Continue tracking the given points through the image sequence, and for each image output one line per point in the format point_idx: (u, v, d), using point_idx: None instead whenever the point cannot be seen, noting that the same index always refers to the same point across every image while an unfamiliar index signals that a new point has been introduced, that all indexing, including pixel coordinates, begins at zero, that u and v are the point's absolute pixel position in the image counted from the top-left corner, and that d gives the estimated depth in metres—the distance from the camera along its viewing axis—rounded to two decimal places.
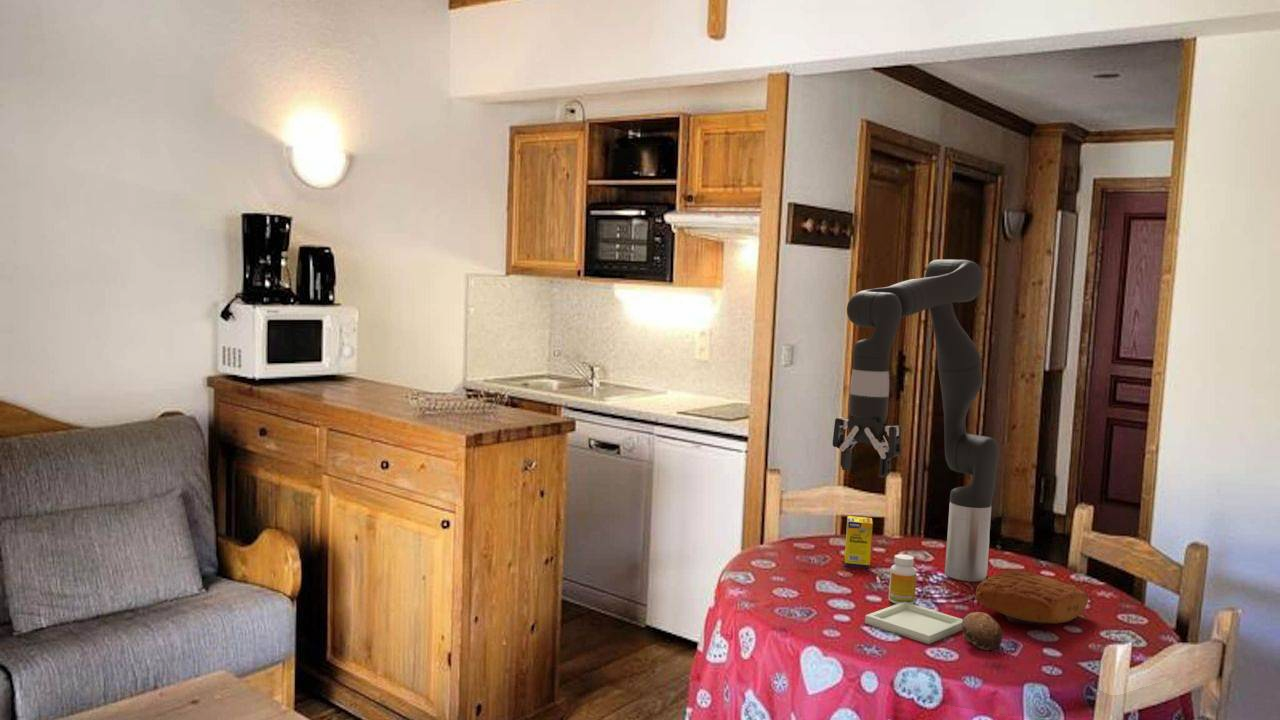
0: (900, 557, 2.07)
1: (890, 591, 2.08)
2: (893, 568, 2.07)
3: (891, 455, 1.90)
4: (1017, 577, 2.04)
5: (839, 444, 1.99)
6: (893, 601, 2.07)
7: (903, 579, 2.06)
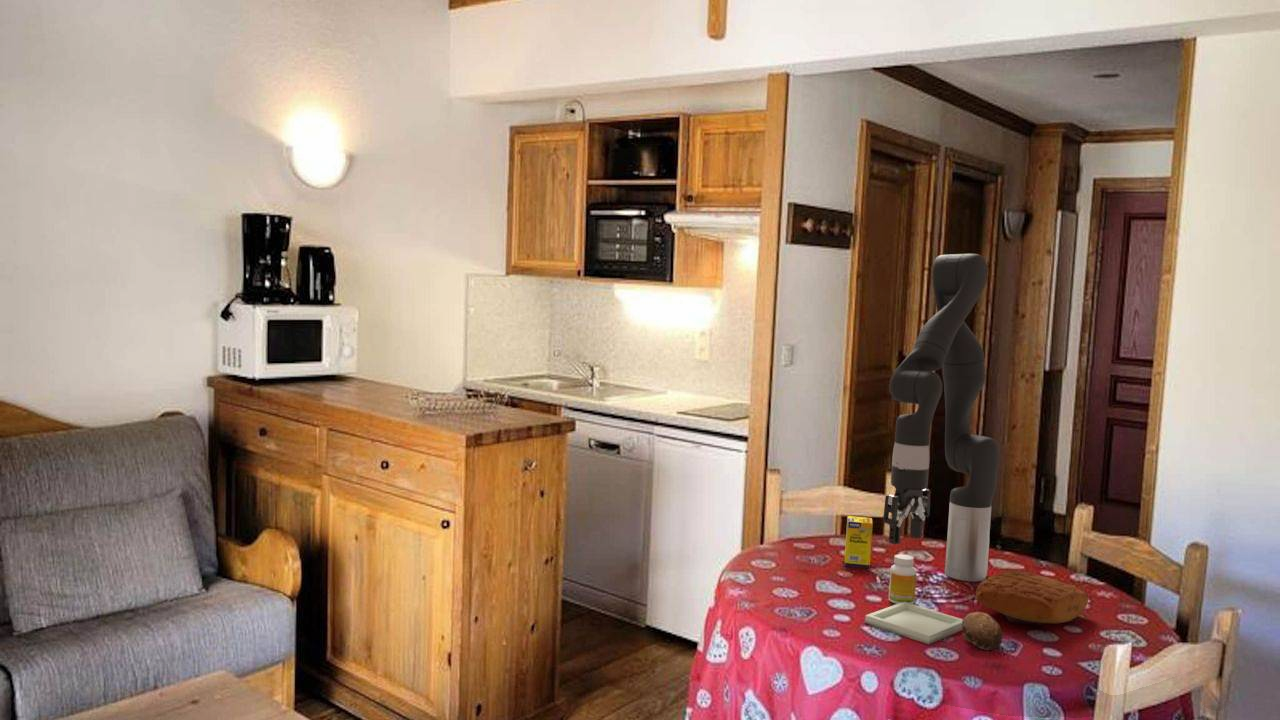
0: (900, 557, 2.07)
1: (890, 591, 2.08)
2: (893, 568, 2.07)
3: (928, 515, 2.11)
4: (1017, 577, 2.04)
5: None
6: (893, 601, 2.07)
7: (903, 579, 2.06)
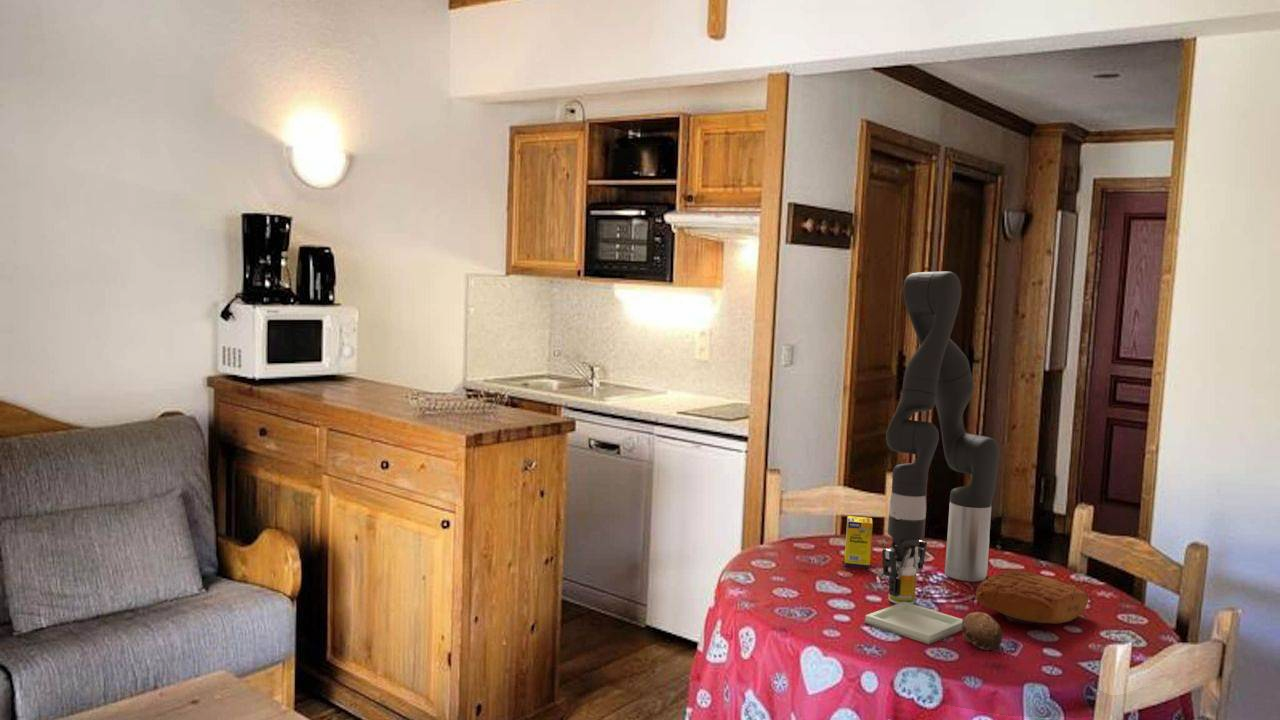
0: None
1: None
2: None
3: (921, 567, 2.11)
4: (1017, 577, 2.03)
5: None
6: (893, 601, 2.07)
7: (903, 579, 2.06)
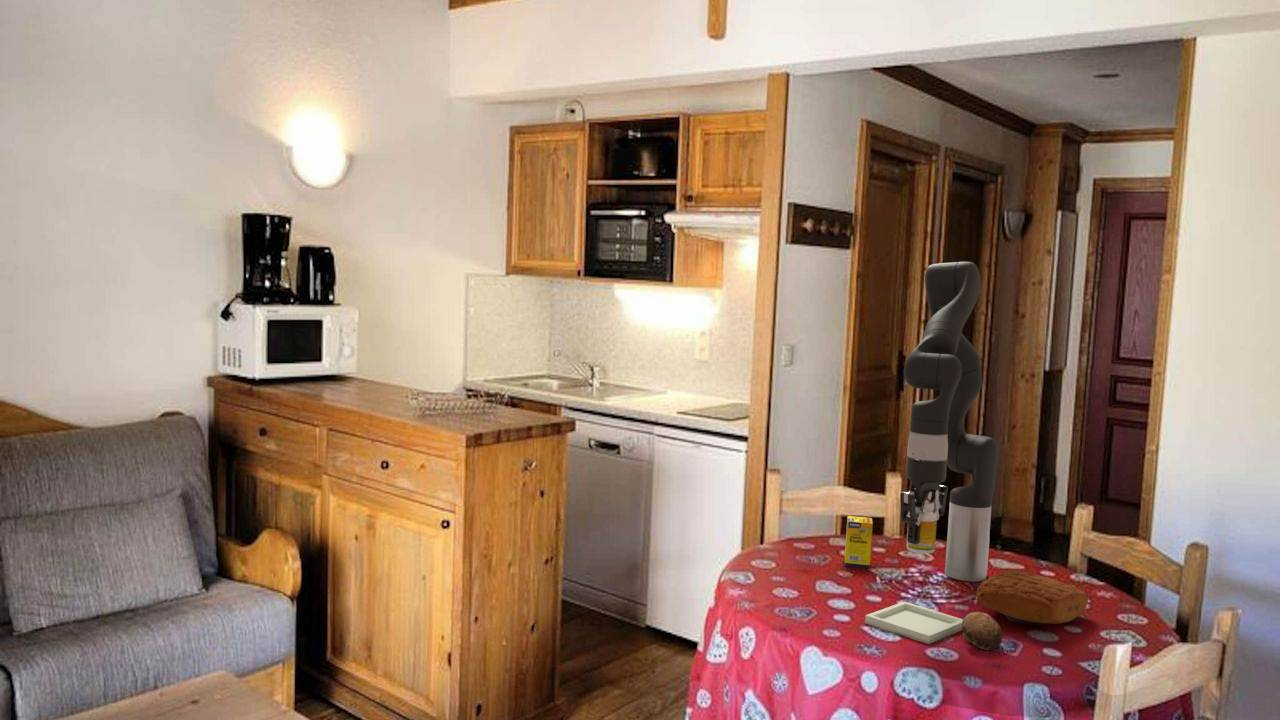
0: None
1: None
2: None
3: (942, 514, 1.95)
4: (1017, 577, 2.03)
5: None
6: (912, 549, 1.91)
7: (923, 525, 1.90)
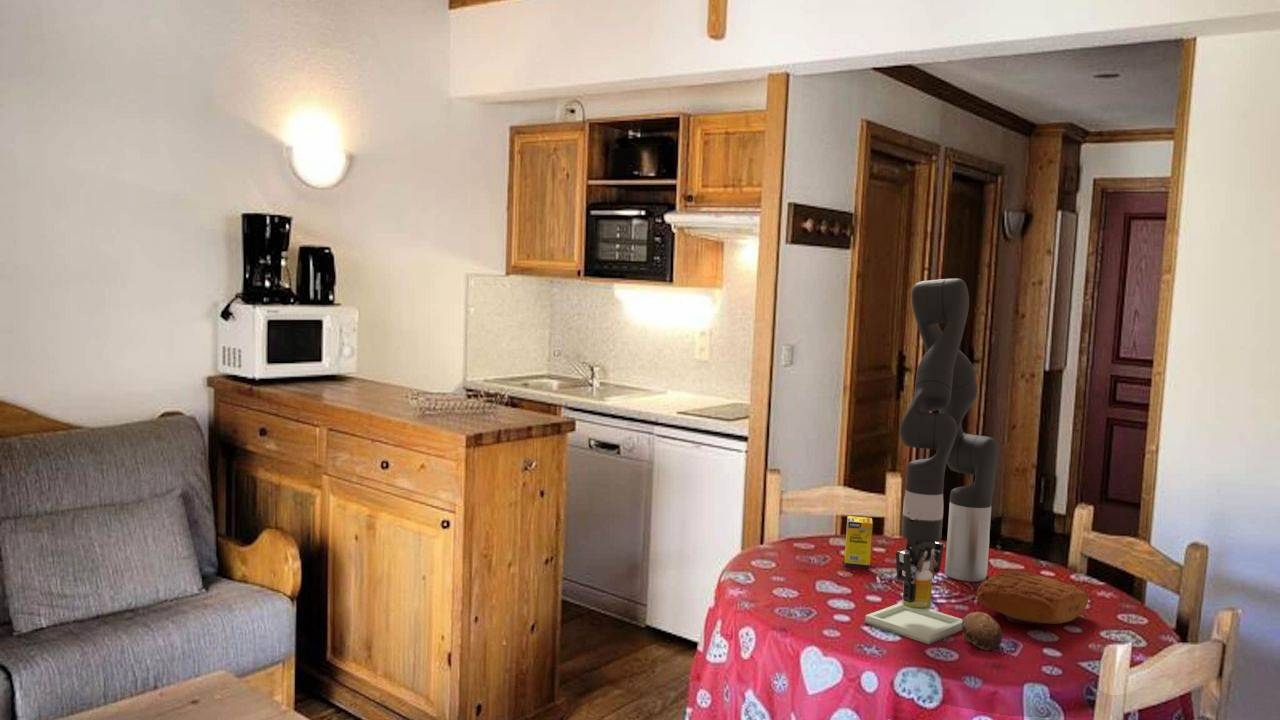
0: None
1: None
2: None
3: (938, 571, 1.96)
4: (1018, 577, 2.03)
5: None
6: (907, 607, 1.92)
7: (918, 584, 1.91)
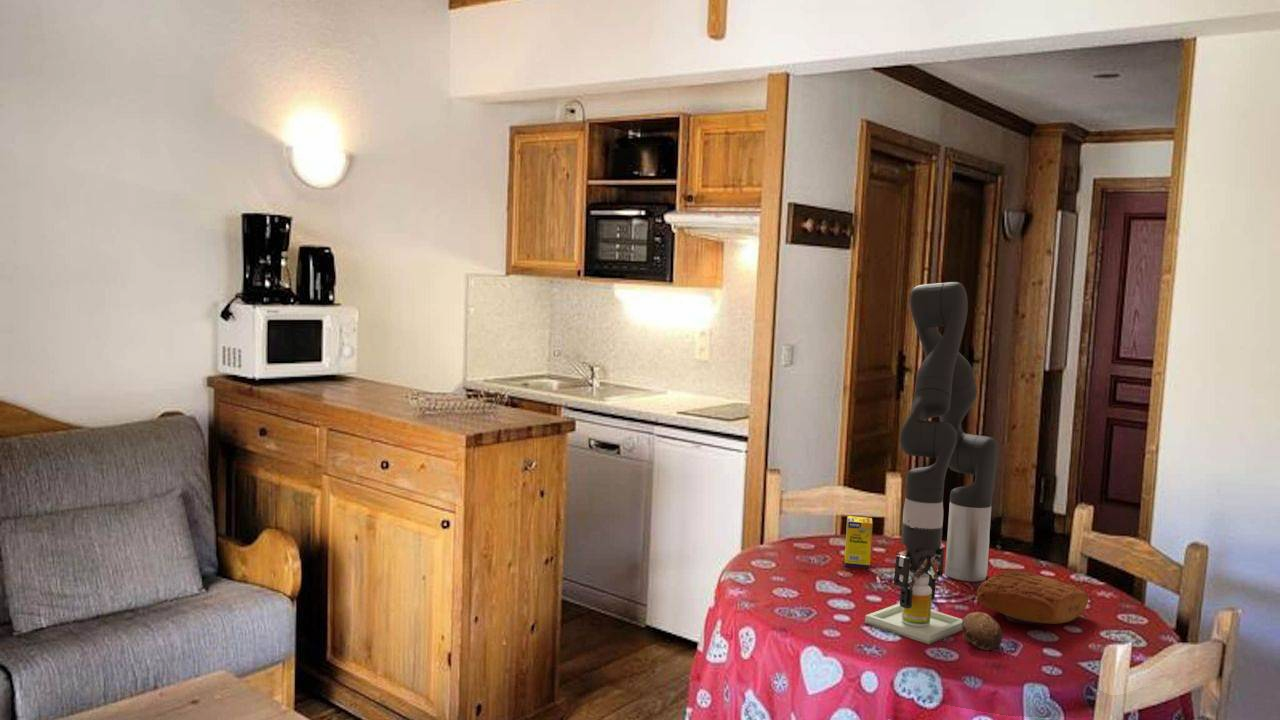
0: None
1: (903, 612, 1.93)
2: None
3: (941, 574, 1.97)
4: (1018, 577, 2.03)
5: None
6: (907, 622, 1.92)
7: (917, 599, 1.91)
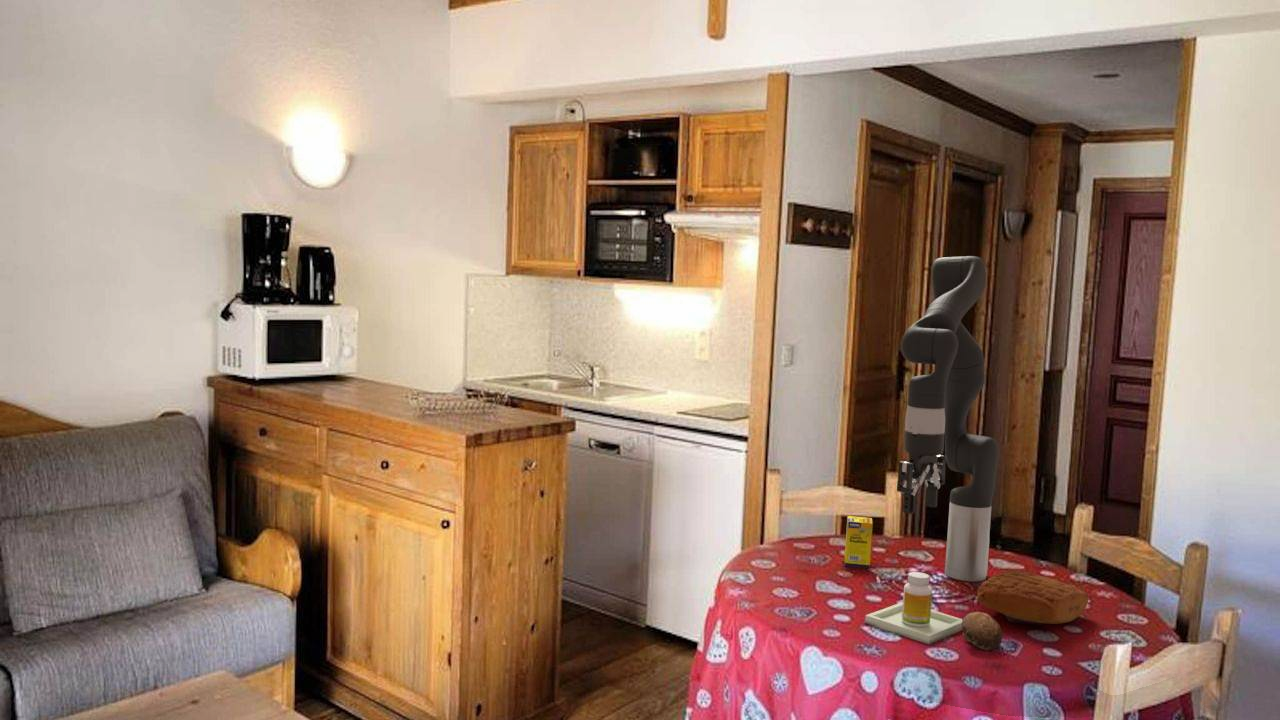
0: (914, 575, 1.93)
1: (903, 612, 1.93)
2: (907, 587, 1.93)
3: (943, 482, 1.98)
4: (1018, 577, 2.03)
5: None
6: (907, 622, 1.92)
7: (917, 599, 1.91)
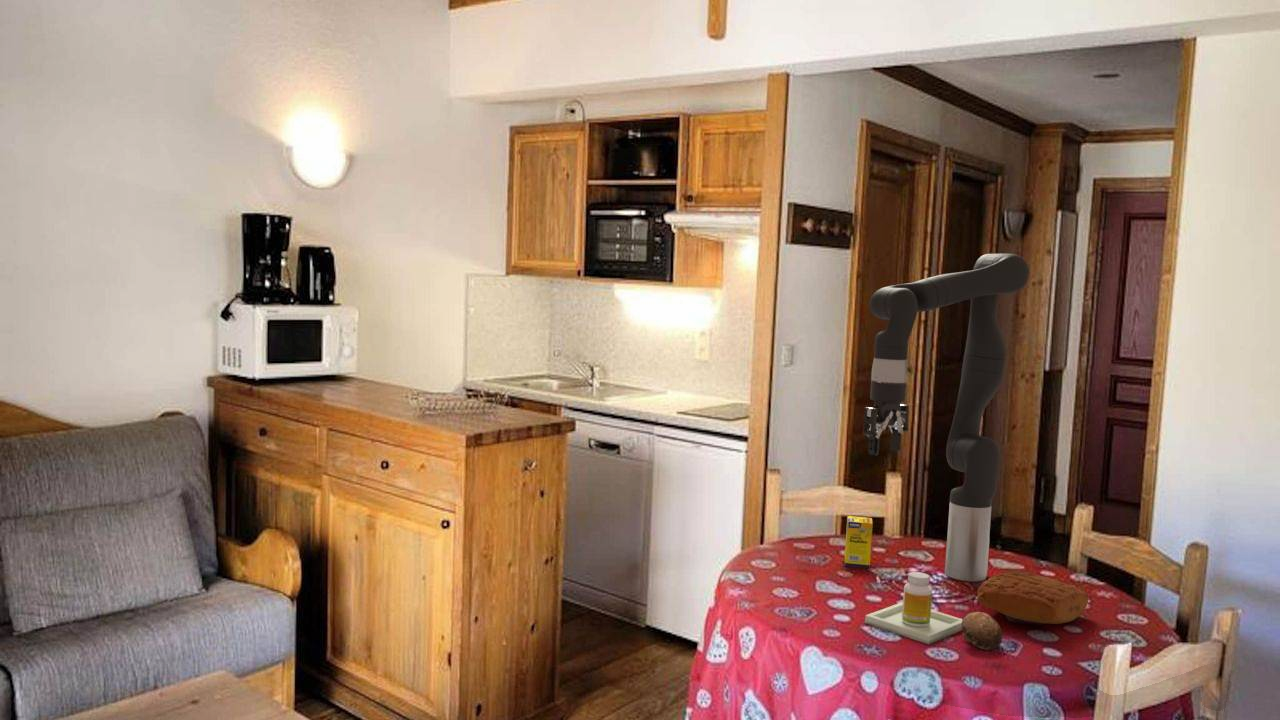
0: (914, 575, 1.93)
1: (903, 612, 1.93)
2: (907, 587, 1.93)
3: (906, 429, 2.19)
4: (1018, 577, 2.03)
5: None
6: (907, 622, 1.92)
7: (917, 599, 1.91)
